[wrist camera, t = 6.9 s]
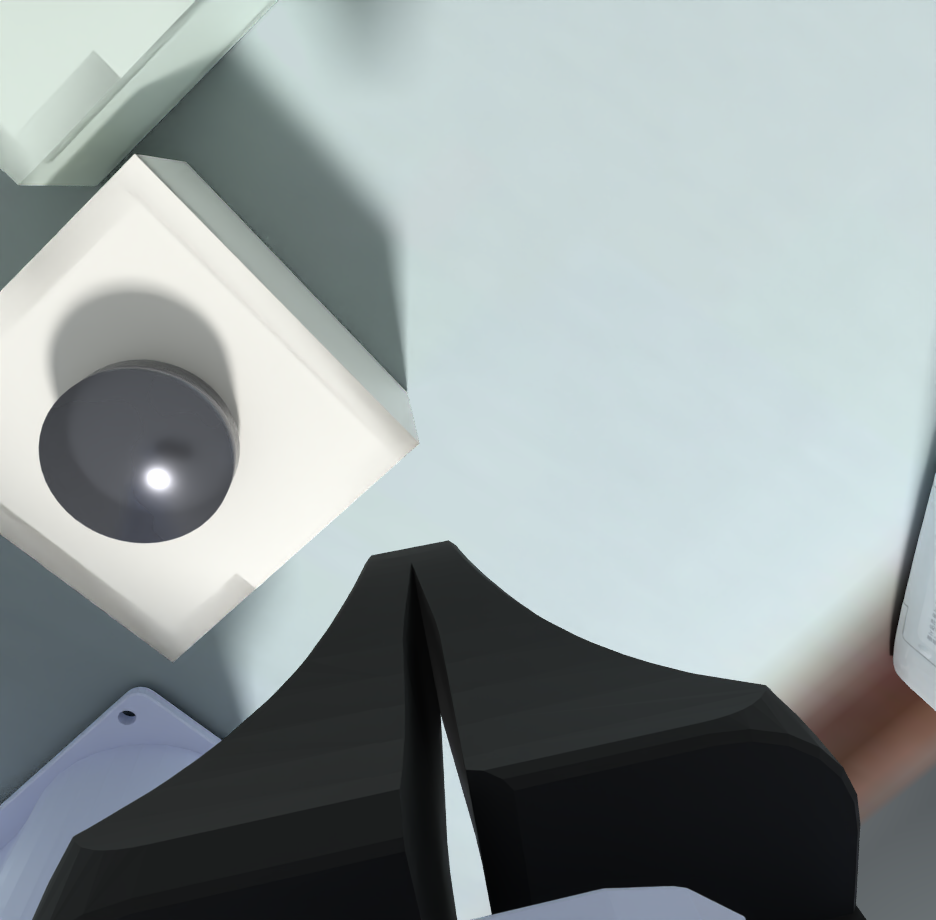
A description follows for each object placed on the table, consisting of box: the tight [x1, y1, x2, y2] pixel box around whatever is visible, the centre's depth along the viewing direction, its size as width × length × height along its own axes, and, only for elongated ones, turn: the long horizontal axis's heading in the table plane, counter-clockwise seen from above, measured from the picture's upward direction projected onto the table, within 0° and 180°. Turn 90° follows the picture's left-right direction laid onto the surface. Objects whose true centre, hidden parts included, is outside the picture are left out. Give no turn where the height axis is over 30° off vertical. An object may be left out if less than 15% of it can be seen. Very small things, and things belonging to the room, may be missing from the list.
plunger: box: [39, 360, 240, 543], centre depth 17 cm, size 5×5×5 cm
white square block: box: [0, 154, 420, 663], centre depth 18 cm, size 8×8×4 cm
